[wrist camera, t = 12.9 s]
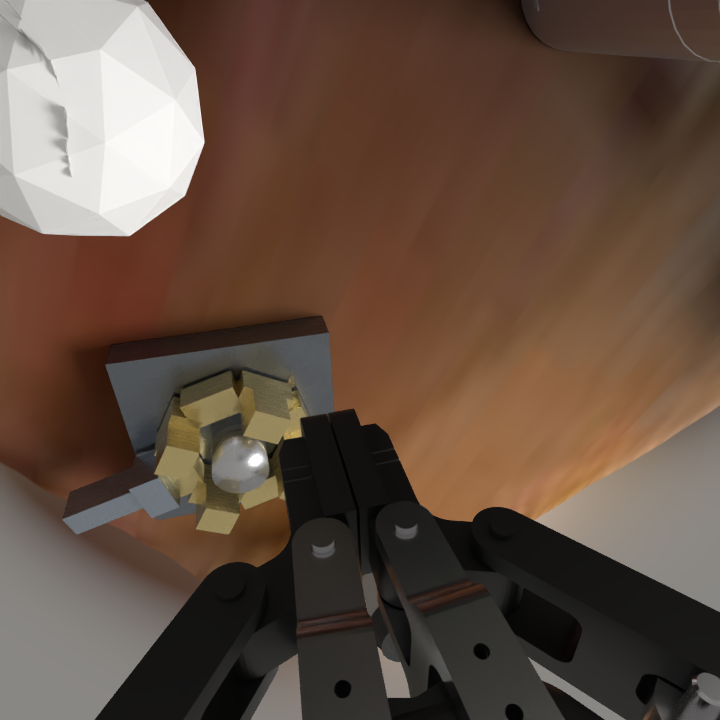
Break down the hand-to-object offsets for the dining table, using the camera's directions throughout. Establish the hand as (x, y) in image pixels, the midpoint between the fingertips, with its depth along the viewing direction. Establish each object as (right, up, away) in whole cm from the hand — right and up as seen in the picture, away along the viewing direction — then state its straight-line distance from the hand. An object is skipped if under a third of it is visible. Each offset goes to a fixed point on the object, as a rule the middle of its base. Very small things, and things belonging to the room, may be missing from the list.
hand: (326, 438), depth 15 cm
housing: (-10, -3, +34) cm, 35 cm away
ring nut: (-13, -6, +31) cm, 34 cm away
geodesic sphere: (-16, +19, +19) cm, 31 cm away
